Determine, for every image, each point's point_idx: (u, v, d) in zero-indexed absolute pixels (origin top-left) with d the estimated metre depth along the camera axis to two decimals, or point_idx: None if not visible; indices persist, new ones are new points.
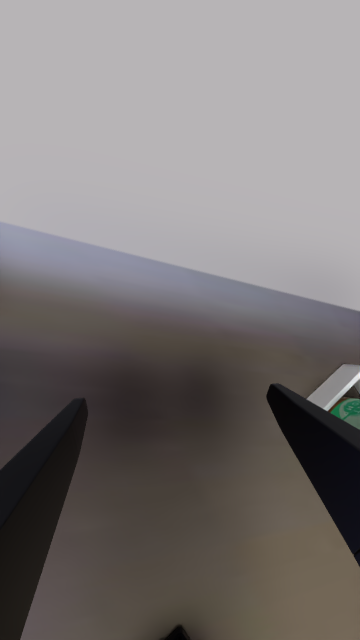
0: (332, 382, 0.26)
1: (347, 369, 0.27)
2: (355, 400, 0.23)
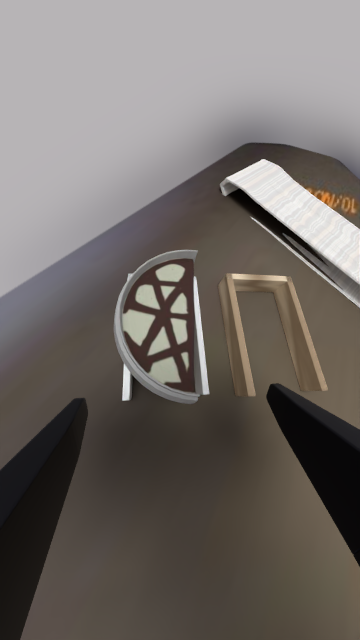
0: None
1: None
2: None
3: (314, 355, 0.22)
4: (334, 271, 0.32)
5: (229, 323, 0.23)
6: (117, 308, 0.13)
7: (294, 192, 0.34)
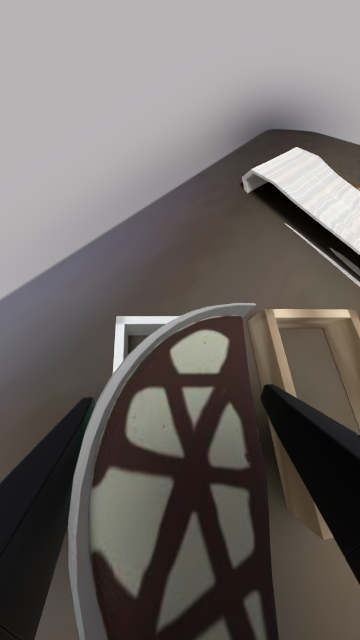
0: None
1: None
2: None
3: None
4: None
5: None
6: (77, 477, 0.05)
7: (339, 189, 0.26)
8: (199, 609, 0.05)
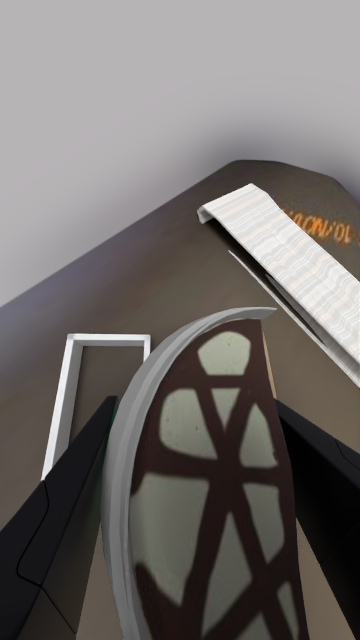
0: None
1: None
2: None
3: None
4: (315, 319, 0.28)
5: None
6: (116, 486, 0.05)
7: (280, 225, 0.30)
8: (239, 607, 0.05)
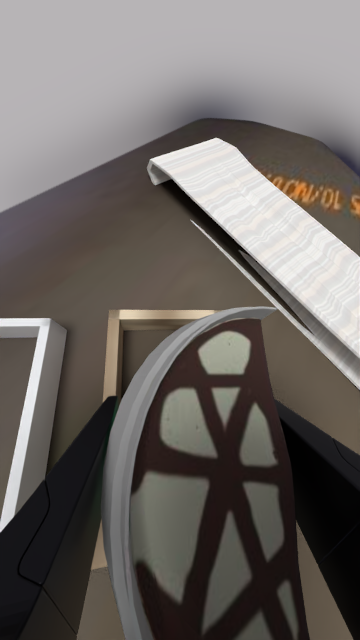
0: None
1: None
2: None
3: None
4: (296, 299, 0.22)
5: None
6: (116, 484, 0.05)
7: (251, 183, 0.24)
8: (239, 605, 0.05)
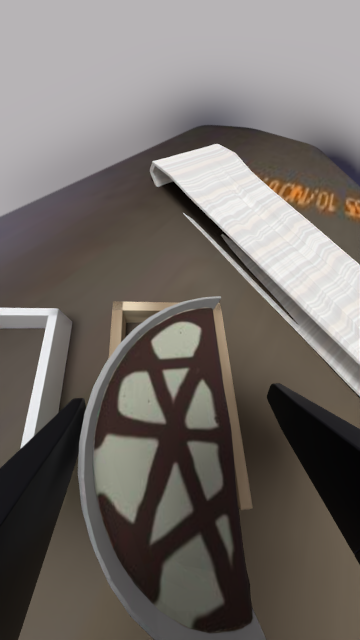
0: None
1: None
2: None
3: (237, 440, 0.13)
4: (290, 297, 0.23)
5: None
6: (82, 442, 0.06)
7: (248, 186, 0.25)
8: (181, 528, 0.06)
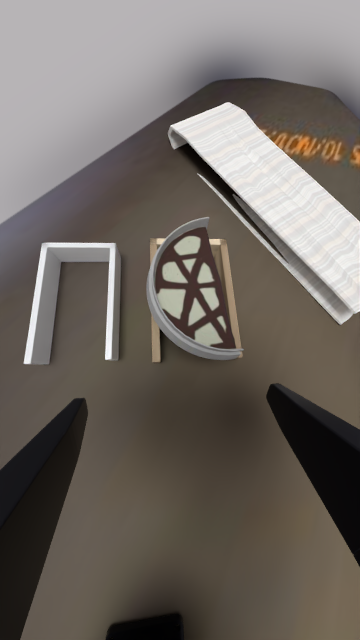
0: None
1: None
2: None
3: (235, 322, 0.21)
4: (283, 240, 0.28)
5: None
6: (150, 290, 0.14)
7: (254, 143, 0.29)
8: (201, 320, 0.14)
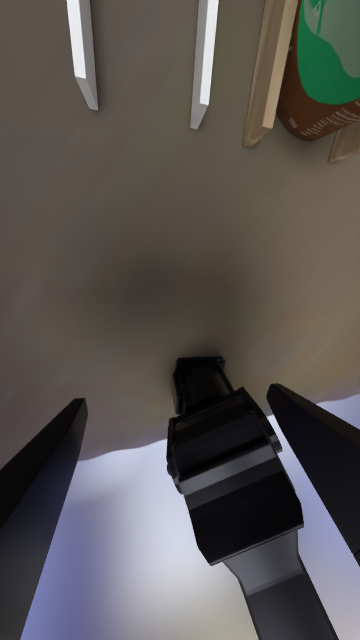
0: None
1: None
2: None
3: None
4: None
5: None
6: None
7: None
8: None
